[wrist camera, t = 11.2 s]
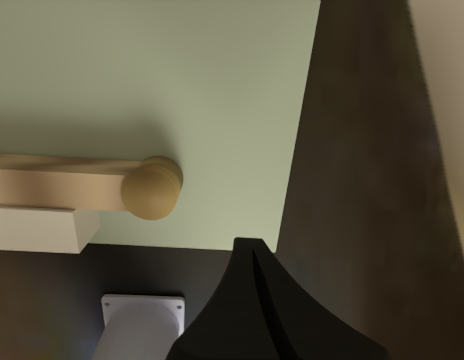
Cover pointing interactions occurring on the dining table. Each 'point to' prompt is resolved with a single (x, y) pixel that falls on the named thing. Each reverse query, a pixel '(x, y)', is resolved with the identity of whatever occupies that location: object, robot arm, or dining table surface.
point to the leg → (91, 184)
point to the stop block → (47, 229)
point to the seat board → (164, 102)
